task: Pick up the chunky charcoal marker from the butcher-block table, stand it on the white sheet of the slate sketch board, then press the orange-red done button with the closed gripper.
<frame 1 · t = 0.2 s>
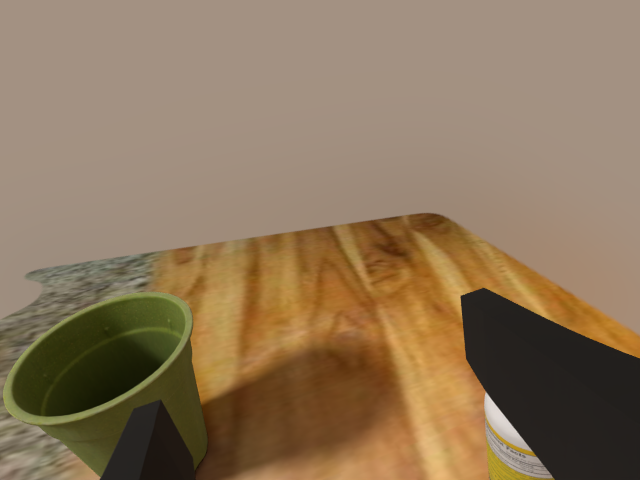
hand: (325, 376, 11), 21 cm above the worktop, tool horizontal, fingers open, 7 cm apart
plant pot: (162, 461, 37), on the worktop
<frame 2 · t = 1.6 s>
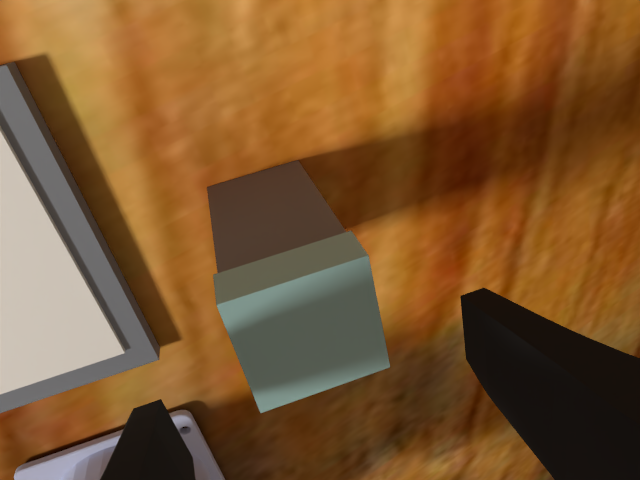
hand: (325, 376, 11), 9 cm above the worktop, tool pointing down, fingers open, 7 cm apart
marker: (265, 214, 20), on the worktop
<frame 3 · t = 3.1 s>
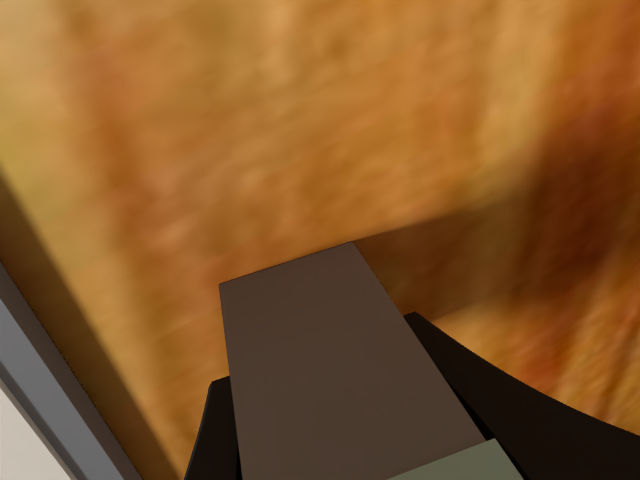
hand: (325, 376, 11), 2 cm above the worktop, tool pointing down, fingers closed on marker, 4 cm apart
marker: (302, 316, 13), on the worktop, touching gripper
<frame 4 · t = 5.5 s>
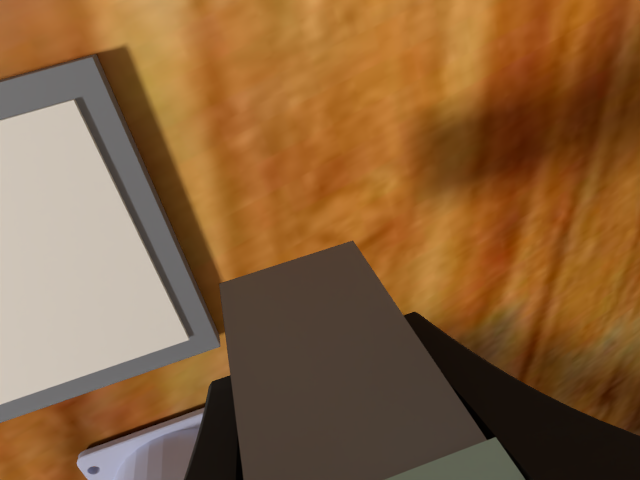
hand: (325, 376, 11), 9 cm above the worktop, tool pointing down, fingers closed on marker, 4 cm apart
marker: (303, 315, 13), point 7 cm above the worktop, touching gripper
when the fingers open (5 cm above the worktop, at t = 7.8 s): marker drops 1 cm, resting on sketch board.
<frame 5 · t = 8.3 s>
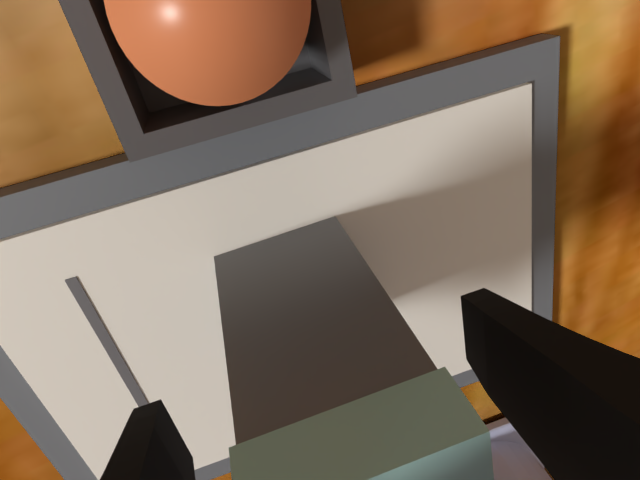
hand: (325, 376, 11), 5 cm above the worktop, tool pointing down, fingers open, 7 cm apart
done button: (209, 1, 9), point 3 cm above the worktop, slide at 0.0 cm
marker: (291, 286, 15), point 1 cm above the worktop, touching sketch board
sketch board: (293, 295, 16), on the worktop
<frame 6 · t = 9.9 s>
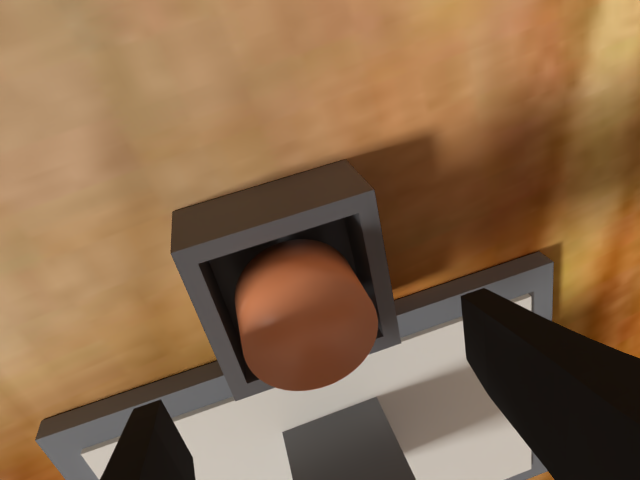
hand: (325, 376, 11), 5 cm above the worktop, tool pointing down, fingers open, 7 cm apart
button housing: (283, 259, 15), on the worktop
done button: (303, 314, 13), point 3 cm above the worktop, slide at 0.0 cm
marker: (340, 445, 18), point 1 cm above the worktop, touching sketch board
sketch board: (338, 442, 20), on the worktop
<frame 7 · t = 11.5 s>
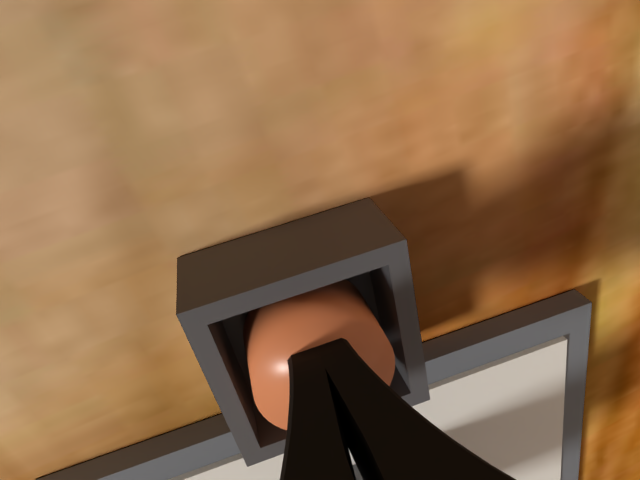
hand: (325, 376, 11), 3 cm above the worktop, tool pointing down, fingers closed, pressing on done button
button housing: (298, 304, 14), on the worktop
done button: (316, 351, 12), point 2 cm above the worktop, slide at 0.9 cm, touching gripper
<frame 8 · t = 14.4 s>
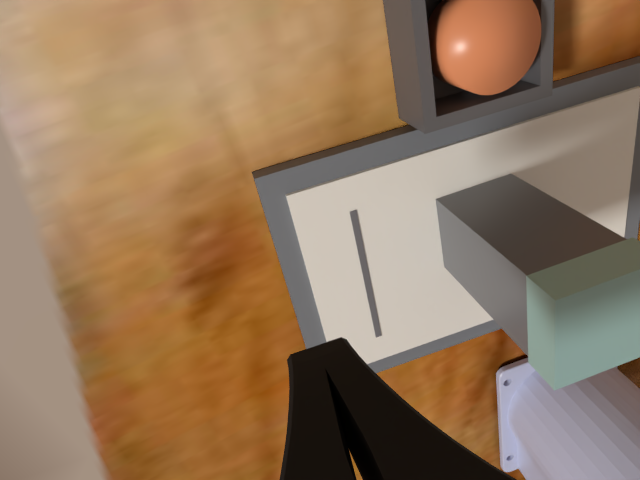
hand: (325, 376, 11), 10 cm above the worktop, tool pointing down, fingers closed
button housing: (452, 35, 19), on the worktop
done button: (480, 40, 17), point 2 cm above the worktop, slide at 0.9 cm
marker: (476, 221, 22), point 1 cm above the worktop, touching sketch board
sketch board: (467, 231, 24), on the worktop
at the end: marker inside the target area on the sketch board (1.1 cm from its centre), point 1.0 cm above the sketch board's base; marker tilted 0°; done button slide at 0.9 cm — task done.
